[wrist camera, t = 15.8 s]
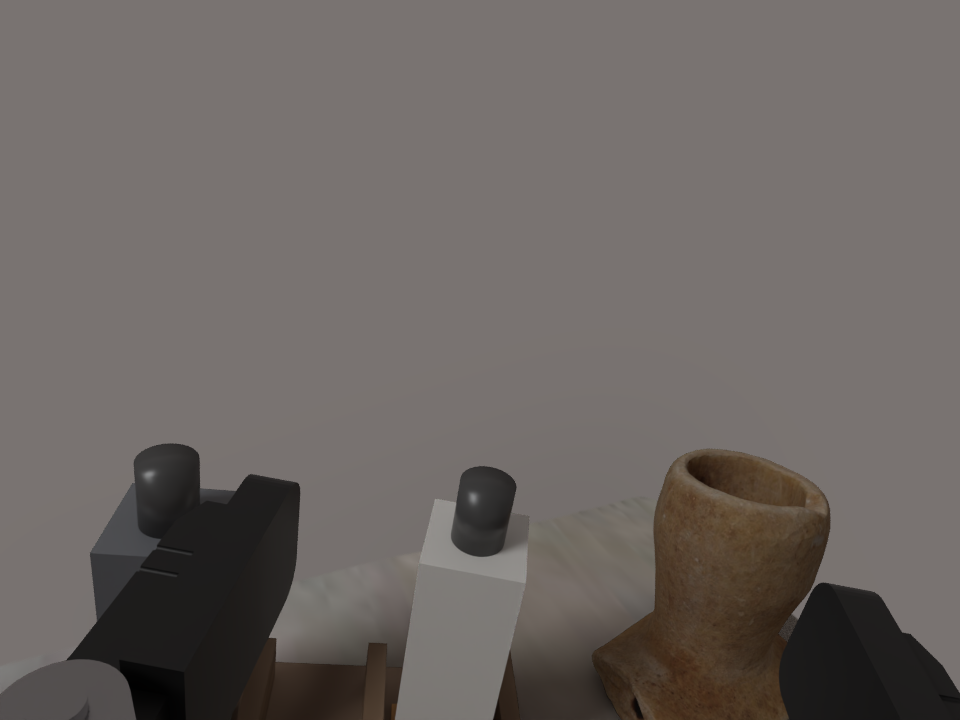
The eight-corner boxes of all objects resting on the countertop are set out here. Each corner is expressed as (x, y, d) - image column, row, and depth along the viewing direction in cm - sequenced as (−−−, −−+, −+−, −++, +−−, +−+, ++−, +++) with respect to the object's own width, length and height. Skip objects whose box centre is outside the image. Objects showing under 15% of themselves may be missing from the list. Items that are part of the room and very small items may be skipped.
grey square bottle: (235, 703, 38) (238, 434, 30) (213, 785, 34) (210, 499, 26) (147, 699, 37) (128, 425, 30) (114, 783, 33) (83, 489, 26)
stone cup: (686, 580, 54) (748, 413, 47) (829, 699, 46) (928, 515, 39) (537, 657, 45) (589, 463, 38) (682, 822, 37) (779, 610, 30)
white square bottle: (482, 716, 39) (541, 463, 32) (474, 795, 35) (539, 525, 28) (403, 701, 39) (443, 445, 32) (385, 778, 35) (428, 504, 28)
